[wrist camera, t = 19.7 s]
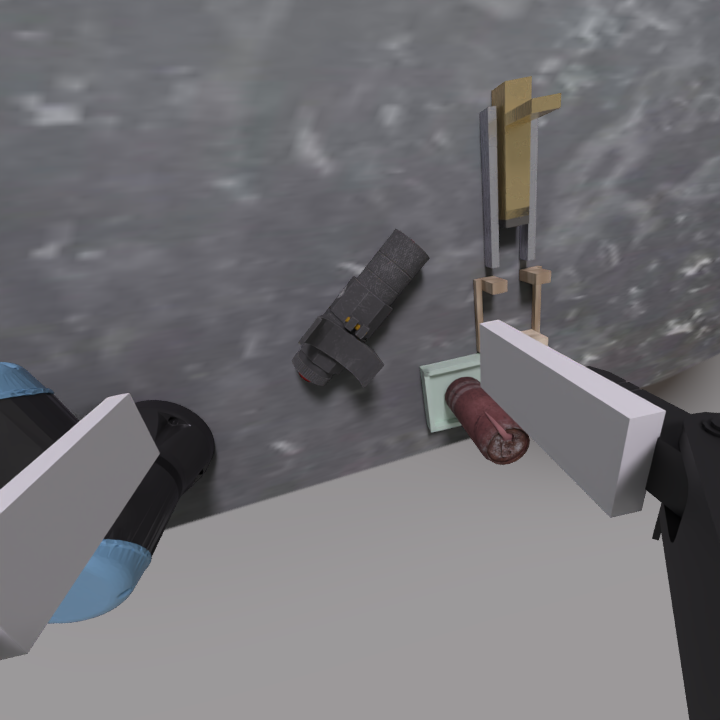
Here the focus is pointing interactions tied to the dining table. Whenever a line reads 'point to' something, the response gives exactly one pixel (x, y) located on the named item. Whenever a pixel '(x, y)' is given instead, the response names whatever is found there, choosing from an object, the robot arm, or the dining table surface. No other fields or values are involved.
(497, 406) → the can
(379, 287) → the laser sight
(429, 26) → the dining table surface
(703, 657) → the robot arm
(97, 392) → the dining table surface
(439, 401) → the pale green shallow tray
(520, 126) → the keeper bolt
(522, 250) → the keeper guide
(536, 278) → the socket
